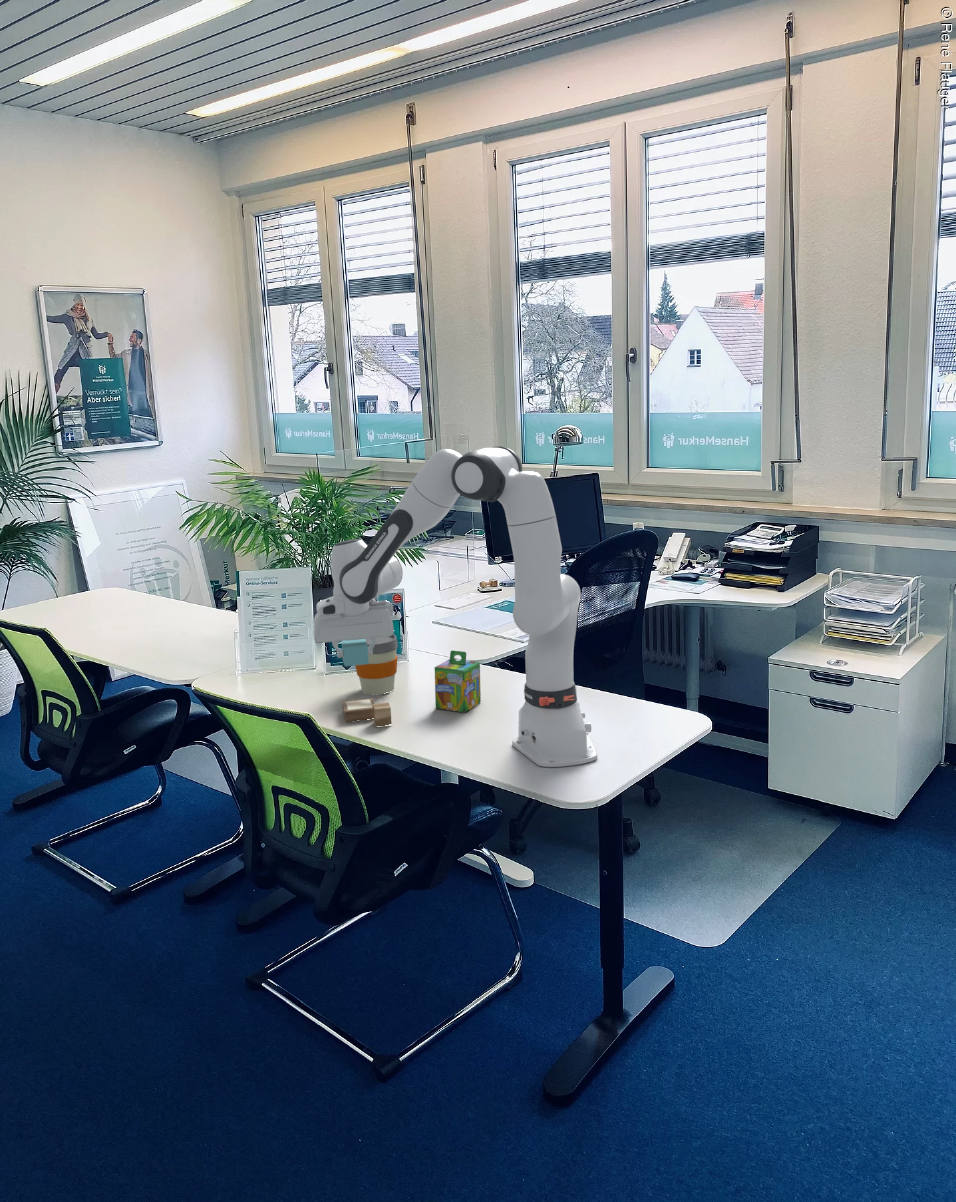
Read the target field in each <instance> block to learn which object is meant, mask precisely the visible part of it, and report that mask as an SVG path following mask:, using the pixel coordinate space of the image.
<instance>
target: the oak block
mask: <svg viewBox="0 0 956 1202" xmlns="http://www.w3.org/2000/svg"><path fill="white" fill-rule="evenodd" d="M373 715H374V720H373V724H374V723H375V724H374V726H385V725H389V724H392V709H391V705H390V702H389V701H387V702H379V703H375V704H373ZM392 725H393V724H392Z"/></svg>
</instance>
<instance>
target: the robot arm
mask: <svg viewBox="0 0 956 1202" xmlns="http://www.w3.org/2000/svg"><path fill="white" fill-rule="evenodd" d="M522 464H523V463H522V461H521V458H520V457H519V455H518V454H517V453H516V451H513V449H511V448H508V447H505V446H492V447H482V448H478V449H476V450H475V449H474V450H472V451H469V452H466V453H464V454H463V455H462V454H461V453H459V452H458V451H456V450H453V449H451V448H441V449H439V450H437V451H436V452H435V453H434V454H433V455H431V457H429V458H428V460H427V461H426V462H425V463H424V464H423V466H422V467H421V468H420V469H419V470H418V472H417V473H416V475H415V477H414V478H413V480H412V481H411V482H410V484H409V485H408V487H407V489H406V491H405V492H404V493H403V496H402V497H401V498H400V500H399V502H398V503H397V504H396V506H395V508H393V510H392V512H391V513H390V515H389V516H388V518H387V519H386V520H385V522H384V523H383V524H382V525H381V526H380V528H379V529H378V531H377V532H376V534H374V536H373V537H372V539H371V540H370V541H369V542H368V544H367V543H366V542H365V541H364V540H362V539H359V538H352V539H351V538H350V539H347V540H344V541H340V542H336V543H335V544H334V545H333V547H332V550H331V554H330V555H331V559H330V566H331V569H330V570H331V577H332V580H333V581H332V582H333V589H332V593H333V596H330V597H327V598H325V599H323V600H321V601H318V602H317V603H316V608H315V609H316V614H315V615H314V619H313V628H312V631H313V641H315V642H316V643H317V644H323V643H332V644H331V645H332V647H333V648H334V649H335V651H336V653H337V659H340V658H342V659H343V657H344V655H343V654H344V653H343V649H342V648H341V649H340V648H339V647H338V646H339V642H342V641H348V640H356V639H367V638H370V640H371V644H370V646H369V647H368V655H373V647H374V646H375V644H376V642H377V641H376V638H378V637H388V636H392V634H395V633H394V631H395V630H394V623H393V619H392V616H393V615H394V606H393V604H392V603H391V602H390V601H387V599H386V600H380V601H379V600H377V601H376V600H373V599H374V598H376V597H379V596H381V595H383V594H385V593H388V592H390V591H392V590H394V589H395V588H397V587H398V586H399V585H400V583H402V581H403V575H404V574H403V568H402V565H401V562H400V561H399V560H398V558H397V557H395V554H396V553H397V552H398V550H399V549H401V547H402V546H403V545H405V544H406V543H407V542H409V541H410V540H412V539H413V538H415V537H416V536H419V535H420V534H423V533H425V532H427V531H428V530H431V529H432V528H434V527H436V526H437V525H438V524H440V522H441V521H442V520H443V519H444V518H445V517H446V516H447V514H448V513H449V512H450V510H451V509H452V508H453V506H454V505H455V503H456V502H457V500H458V498H459V497H460V496H462V497H464V498H466V499H469V500H472V501H473V500H474V501H482V502H489V503H494V502H497V501H498V502H499V503H500V504H501V505H502V508H503V510H504V513H505V518H506V524H507V529H508V534H509V540H510V544H511V550H512V556H513V564H514V566H513V567H514V604H513V609H512V618H513V621H514V623H515V625H516V627H517V628H518V629H519V630H520V631H521V632H523V633H524V634H527V635H529V637H528V642H527V645H526V648H525V655H524V656H525V659H524V660H525V683H524V689H523V693H524V694H523V695H524V700H525V701H524V703H523V705H522V706H521V708H520V709H519V710H518V727H517V728H518V732H517V733H518V735H517V737H516V738H514V739H512V742H511V744H512V747H513V748H515V749H517V750H518V751H519V752H520V753H521V754H523V755H524V756H525V757H527V758H528V759H529V760H531V761H532V762H533V763H535V764H536V765H537V766H539V767H544V768H545V767H546V768H553V767H554V768H556V767H557V768H558V767H560V768H562V767H569V766H570V767H571V766H577V765H583V764H586V763H590V762H593V761H595V760H597V759H598V753H597V751H596V749H595V748H596V747H595V745H594V742H593V740H592V737H591V735H590V734H591V732H592V724H591V722H585V721H584V719H585V718H586V713H585V712H584V711H583V712H582V711H581V707H580V703H579V702H578V697H577V695H578V694H577V693H578V692H577V688H576V683H575V681H574V649H575V648H574V647H575V641H576V633H577V626H578V625H577V624H578V623H577V622H578V615H579V614H578V613H579V605H580V602H581V595H582V594H581V588H580V585H579V584H578V582H577V580H575V578H573V577H572V576H570V575H569V574H564V573H562V572H561V571H562V570H561V566H562V565H561V564H562V554H563V553H562V552H563V547H562V542H561V535H560V532H559V527H558V520H557V515H556V511H555V510H556V509H555V507H554V503H553V499H552V496H551V493H550V491H549V487H548V484H547V483H546V480H545V478H544V477H543V476H542V475H541V474H540V473H539V472H536V471H530V470H524V471H523V465H522Z"/></svg>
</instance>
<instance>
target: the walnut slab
mask: <svg viewBox="0 0 956 1202" xmlns="http://www.w3.org/2000/svg"><path fill="white" fill-rule="evenodd" d="M341 702H342V703H341V705H342V713H343V717H344V721H345V723H346V722H347V723H353V722H352V721H356V722H358V721H357V720H365V721H368V720H367V719H372V718H374V715H373V704H376V703H375V701H374V698H373V697H369V698H361V699H351V700H343V701H341Z"/></svg>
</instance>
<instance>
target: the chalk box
mask: <svg viewBox="0 0 956 1202" xmlns="http://www.w3.org/2000/svg"><path fill="white" fill-rule="evenodd" d="M456 656H459V657H461V658H456ZM434 686H435V687H434V692H435V693H434V695H435V698H434V699H435V709H436V708H442V709H441V710H444V709H448V710H447V711H450V710H455V711H460V712H459V713H461V712H466V711H467V712H469V711H470V710H471V708H472V709H473V708H474V706H475V705H476V706H477V704H478V705H480V702H481V701H482V698H481V695H482V694H481V693H482V692H481V691H482V690H481V663H480V662H479V661H475V660H469V659H467V652H466V651H461V650H451V651H450V655H449V659H447V660H446V661H443V662H442V663H440V664H438V665H436V666H434ZM476 706H475V707H476ZM468 710H469V711H468ZM455 711H454V712H455ZM467 712H466V713H467Z"/></svg>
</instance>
